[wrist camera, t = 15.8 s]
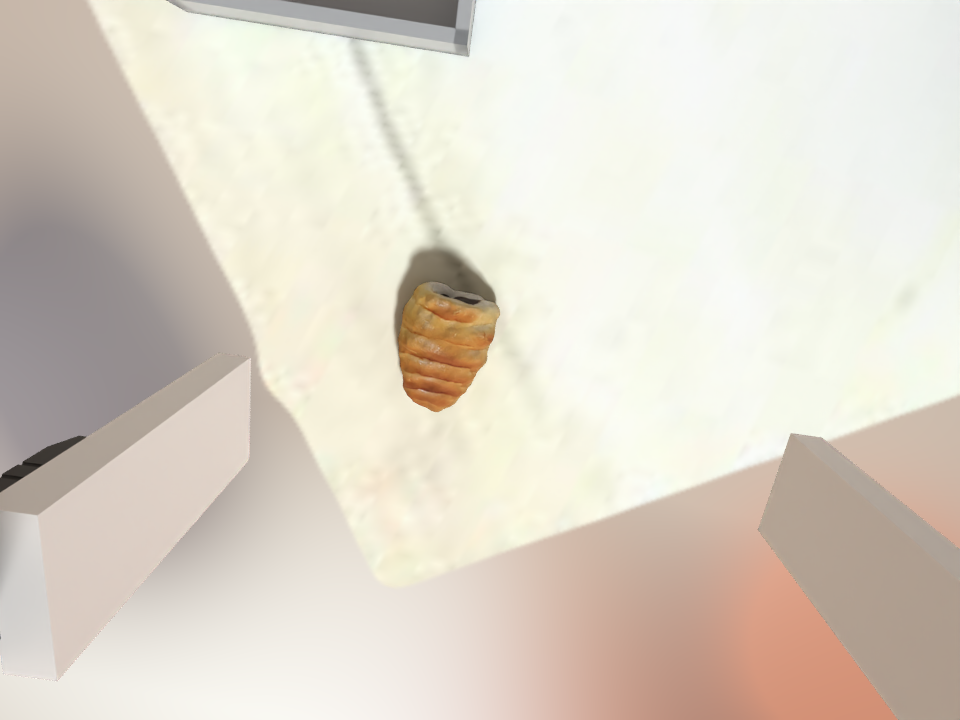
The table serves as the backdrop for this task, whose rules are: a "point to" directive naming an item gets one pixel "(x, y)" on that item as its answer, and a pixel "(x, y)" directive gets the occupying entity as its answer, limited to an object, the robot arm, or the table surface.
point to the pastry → (443, 343)
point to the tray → (358, 19)
